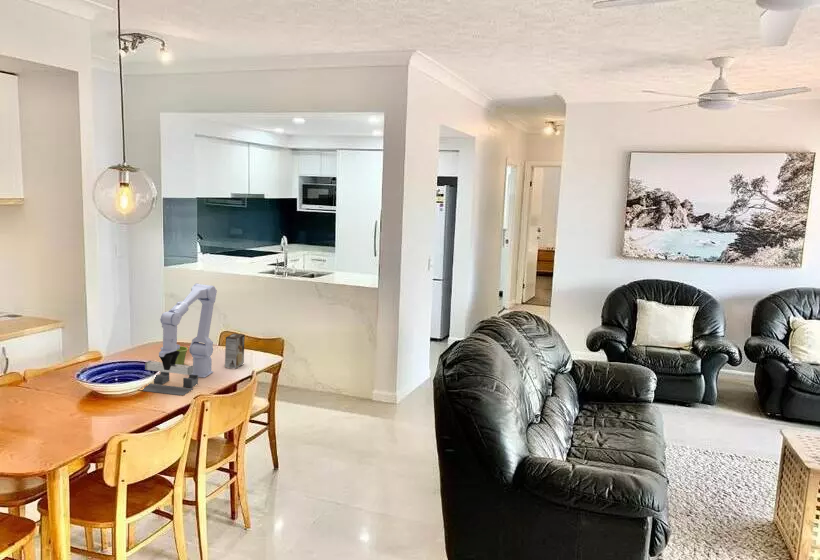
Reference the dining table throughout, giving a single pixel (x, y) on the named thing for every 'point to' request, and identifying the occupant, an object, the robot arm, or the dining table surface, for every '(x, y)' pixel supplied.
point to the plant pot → (181, 355)
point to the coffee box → (234, 350)
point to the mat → (167, 389)
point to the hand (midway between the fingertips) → (169, 368)
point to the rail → (173, 368)
